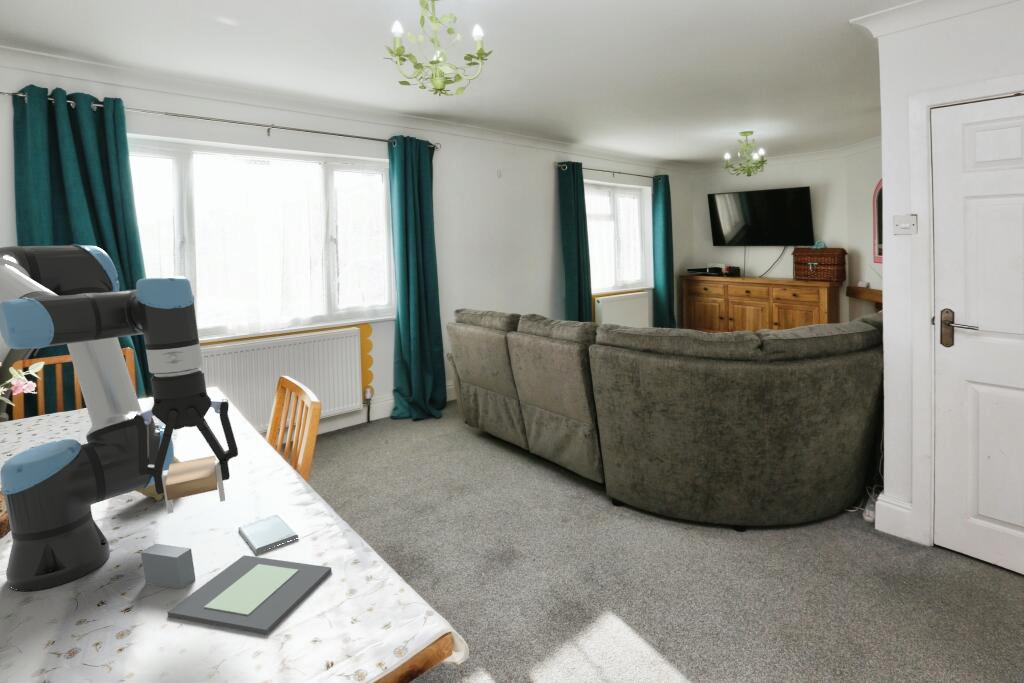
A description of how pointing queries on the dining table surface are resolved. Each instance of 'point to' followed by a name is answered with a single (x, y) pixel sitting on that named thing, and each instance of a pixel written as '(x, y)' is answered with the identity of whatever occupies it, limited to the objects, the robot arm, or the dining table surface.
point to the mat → (251, 594)
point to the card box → (191, 478)
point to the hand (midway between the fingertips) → (197, 503)
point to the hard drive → (267, 533)
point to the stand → (168, 566)
